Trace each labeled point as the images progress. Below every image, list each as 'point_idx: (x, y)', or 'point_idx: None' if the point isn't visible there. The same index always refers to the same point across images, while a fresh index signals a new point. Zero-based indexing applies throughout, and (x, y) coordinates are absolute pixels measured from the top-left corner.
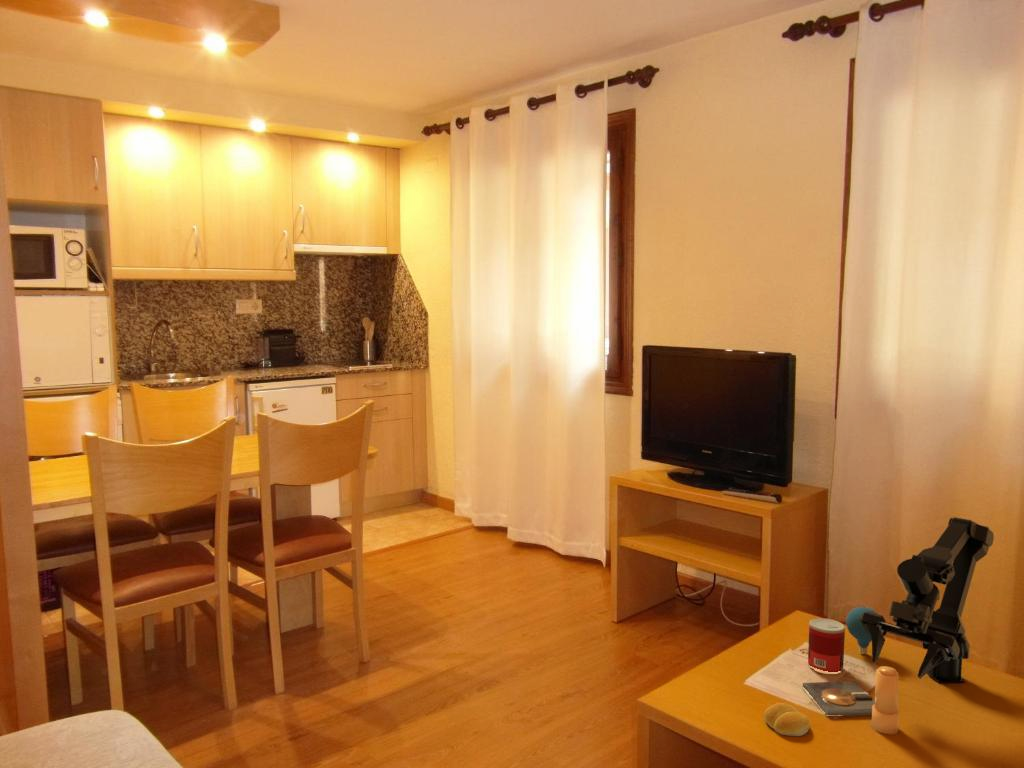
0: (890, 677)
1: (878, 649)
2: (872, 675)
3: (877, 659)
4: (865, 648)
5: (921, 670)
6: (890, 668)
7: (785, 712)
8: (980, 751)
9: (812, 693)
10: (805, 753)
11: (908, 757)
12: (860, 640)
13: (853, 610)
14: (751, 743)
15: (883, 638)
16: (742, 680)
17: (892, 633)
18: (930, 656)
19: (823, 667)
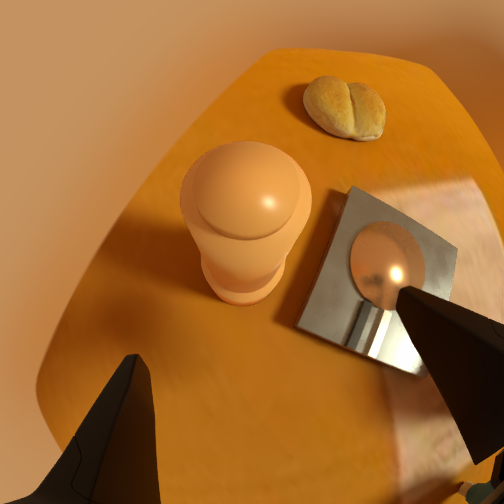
0: (199, 160)
1: (452, 357)
2: (420, 459)
3: (409, 335)
4: (466, 491)
5: (115, 380)
6: (248, 214)
7: (350, 90)
8: (66, 370)
9: (420, 224)
10: (258, 78)
11: (134, 204)
12: (484, 485)
13: None
14: (315, 56)
15: (489, 447)
16: (479, 185)
17: (486, 498)
18: (58, 475)
19: None
